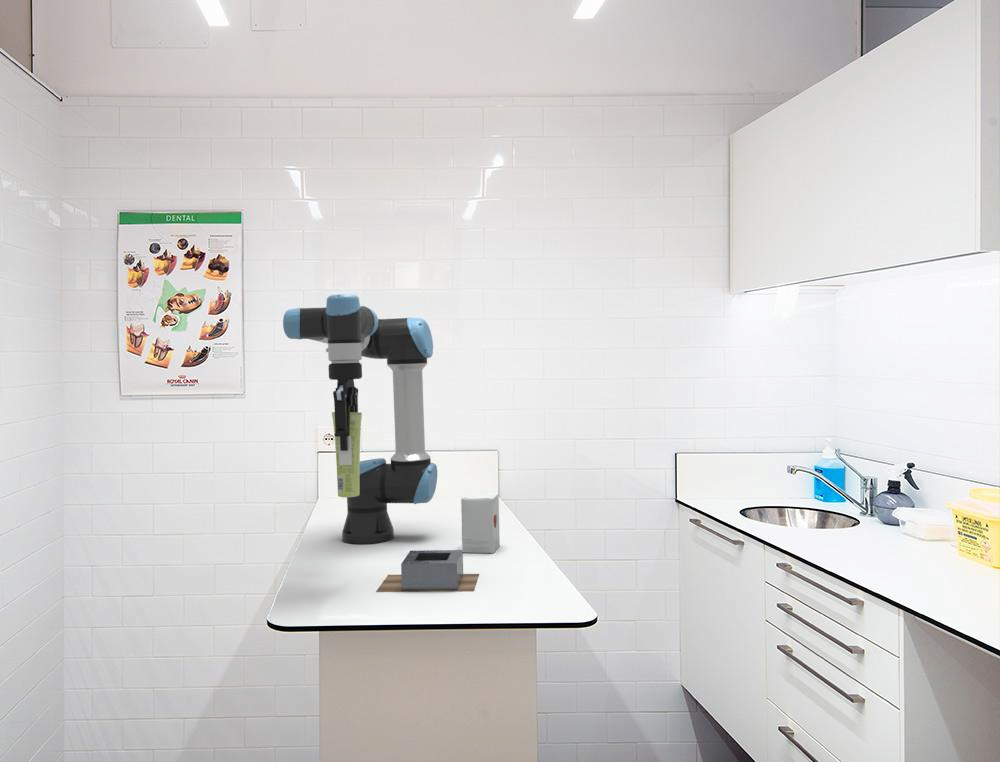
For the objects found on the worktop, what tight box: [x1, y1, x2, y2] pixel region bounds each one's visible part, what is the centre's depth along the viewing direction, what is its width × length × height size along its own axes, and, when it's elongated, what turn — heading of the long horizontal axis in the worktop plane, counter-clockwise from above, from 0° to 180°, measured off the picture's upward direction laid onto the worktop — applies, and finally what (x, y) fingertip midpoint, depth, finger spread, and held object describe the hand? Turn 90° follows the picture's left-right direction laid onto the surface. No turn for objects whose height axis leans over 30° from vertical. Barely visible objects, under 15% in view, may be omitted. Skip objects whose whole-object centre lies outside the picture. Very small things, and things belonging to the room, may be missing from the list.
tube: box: [331, 411, 363, 498], centre depth 183 cm, size 6×5×20 cm
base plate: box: [375, 573, 480, 593], centre depth 182 cm, size 14×22×1 cm, turn 86°
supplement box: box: [460, 492, 501, 554], centre depth 218 cm, size 9×9×15 cm
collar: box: [400, 549, 464, 590], centre depth 182 cm, size 12×12×6 cm
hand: (348, 463), depth 183 cm, fingers closed on tube, 4 cm apart
